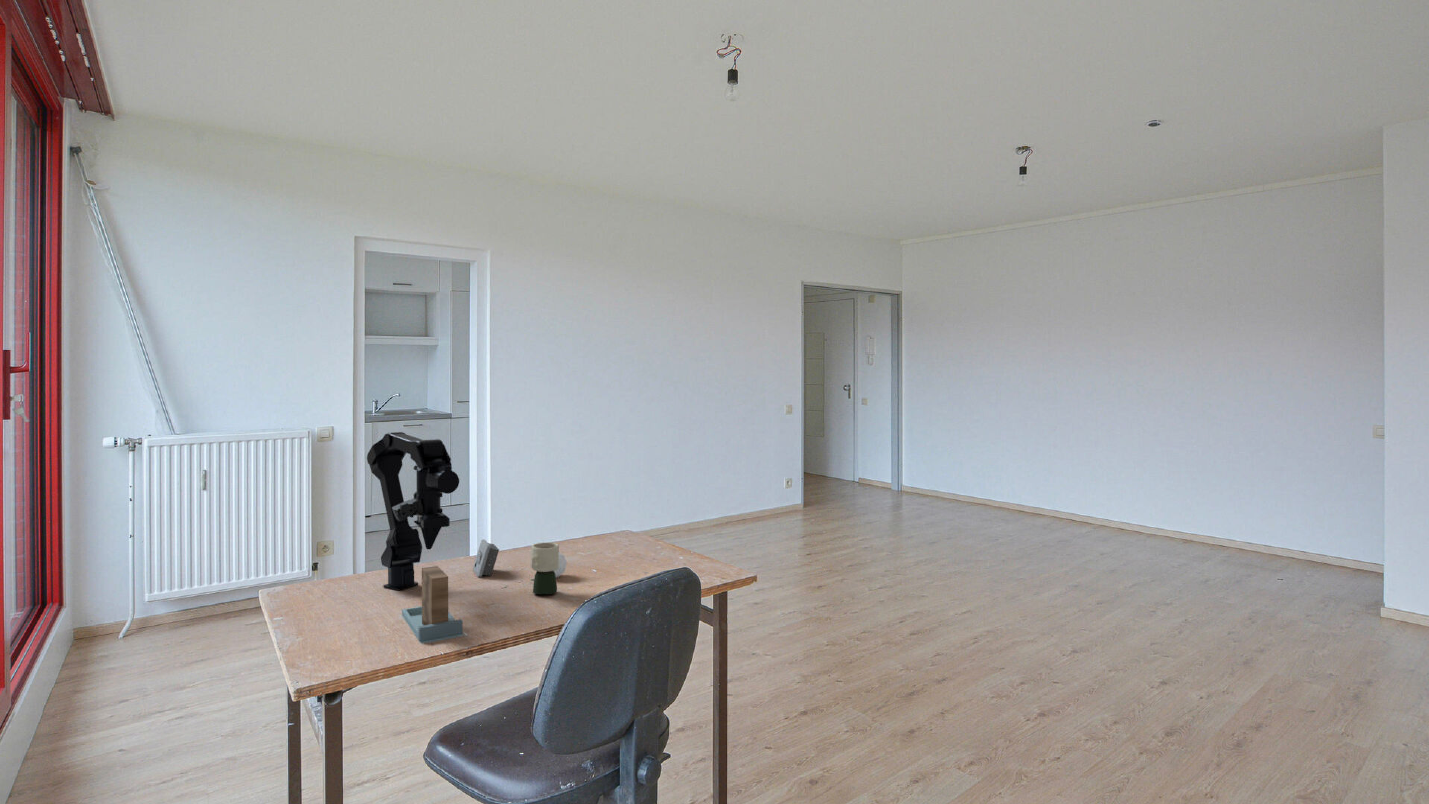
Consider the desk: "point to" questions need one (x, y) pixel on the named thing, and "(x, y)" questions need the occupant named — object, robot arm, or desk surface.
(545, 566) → the character mug
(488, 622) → the desk surface
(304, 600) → the desk surface
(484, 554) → the electrical switch
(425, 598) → the brown wooden block
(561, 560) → the geometric ball
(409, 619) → the slot base
